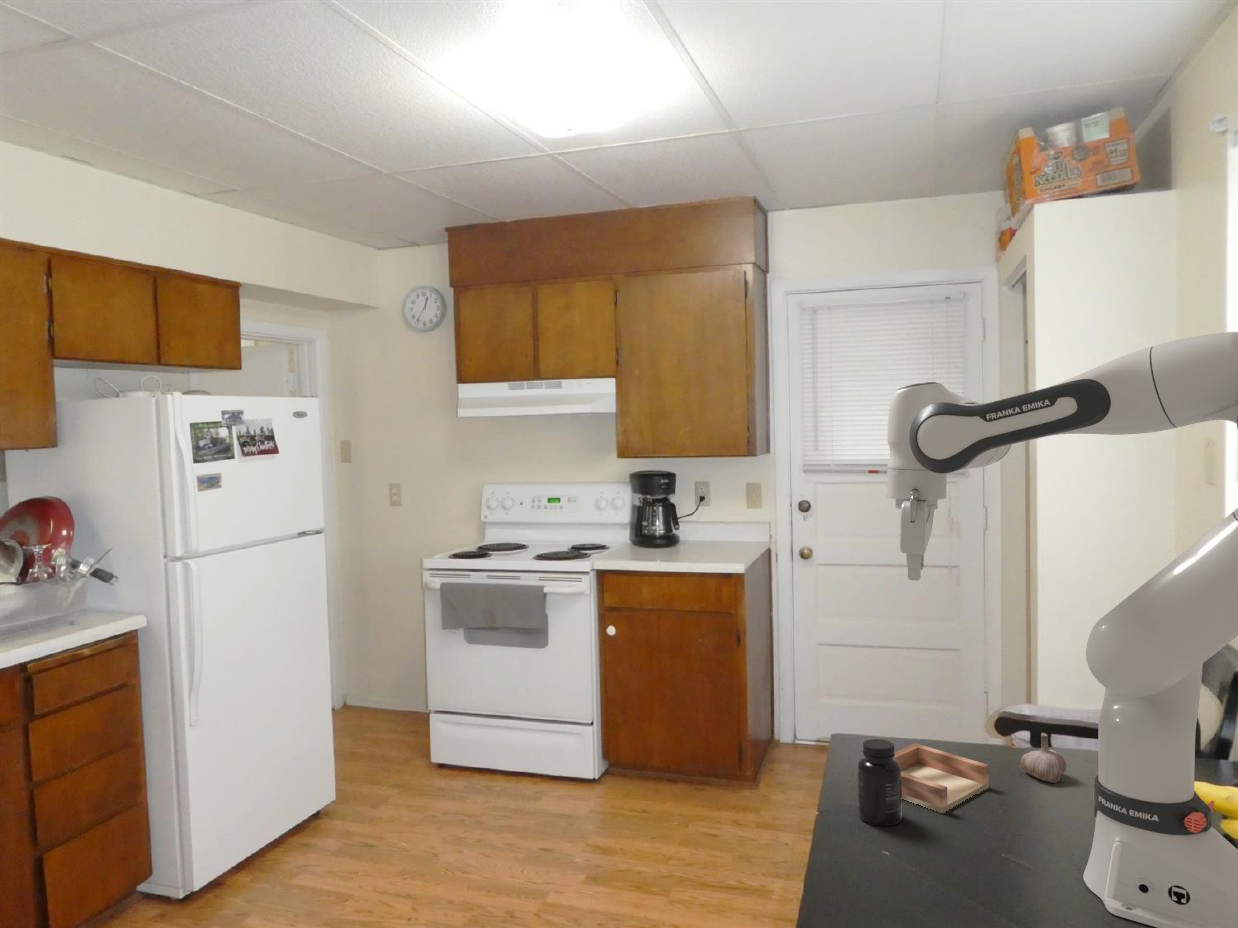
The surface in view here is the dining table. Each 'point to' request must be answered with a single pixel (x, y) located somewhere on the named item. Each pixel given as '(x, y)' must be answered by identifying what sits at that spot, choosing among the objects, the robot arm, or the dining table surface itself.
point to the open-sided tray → (939, 777)
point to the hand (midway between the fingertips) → (916, 574)
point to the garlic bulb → (1044, 762)
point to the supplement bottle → (879, 784)
